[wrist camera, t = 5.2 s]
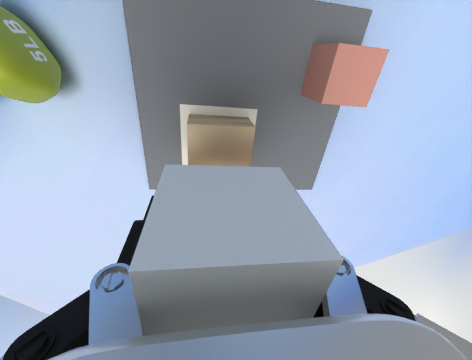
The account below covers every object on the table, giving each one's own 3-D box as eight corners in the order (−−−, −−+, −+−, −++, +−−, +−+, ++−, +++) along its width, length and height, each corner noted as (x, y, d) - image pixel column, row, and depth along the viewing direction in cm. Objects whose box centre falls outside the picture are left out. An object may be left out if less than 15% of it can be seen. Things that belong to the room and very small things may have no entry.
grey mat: (119, -31, 18) (117, -33, 17) (369, 10, 22) (372, 10, 21) (150, 187, 29) (149, 189, 28) (310, 188, 33) (312, 189, 32)
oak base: (188, 113, 24) (186, 123, 21) (248, 117, 25) (255, 127, 22) (190, 167, 28) (188, 183, 24) (242, 168, 29) (247, 184, 25)
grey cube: (165, 164, 10) (128, 271, 5) (280, 167, 11) (343, 259, 6) (172, 248, 13) (153, 368, 8) (262, 245, 14) (295, 350, 9)
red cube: (312, 44, 22) (339, 42, 18) (354, 49, 23) (389, 49, 19) (300, 94, 25) (321, 103, 20) (339, 97, 25) (366, 106, 21)
